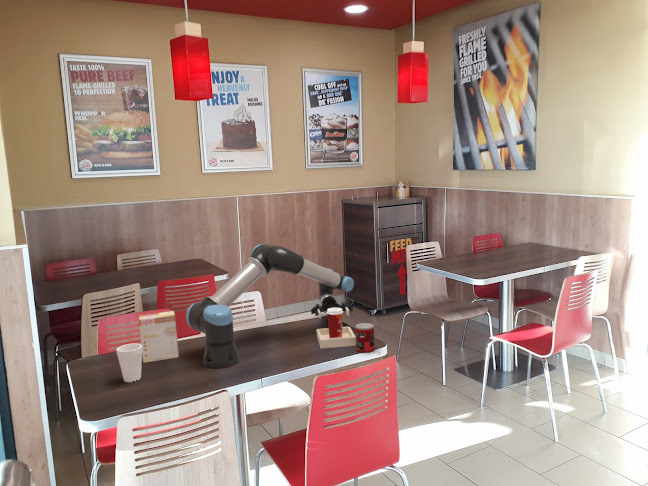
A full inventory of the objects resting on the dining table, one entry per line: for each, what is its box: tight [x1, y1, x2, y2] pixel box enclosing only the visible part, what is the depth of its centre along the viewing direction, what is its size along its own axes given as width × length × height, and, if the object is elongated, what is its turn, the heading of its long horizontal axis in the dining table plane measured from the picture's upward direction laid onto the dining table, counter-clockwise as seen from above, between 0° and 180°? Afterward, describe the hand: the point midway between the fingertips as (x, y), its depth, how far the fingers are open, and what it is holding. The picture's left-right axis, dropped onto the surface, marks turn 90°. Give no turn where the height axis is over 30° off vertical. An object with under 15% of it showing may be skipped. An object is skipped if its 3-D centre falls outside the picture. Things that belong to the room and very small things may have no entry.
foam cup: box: [116, 342, 143, 383], centre depth 208 cm, size 10×9×13 cm
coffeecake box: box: [138, 310, 180, 363], centre depth 230 cm, size 15×7×20 cm, turn 110°
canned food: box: [355, 322, 375, 354], centre depth 230 cm, size 8×8×11 cm
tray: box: [315, 326, 356, 350], centre depth 243 cm, size 16×16×4 cm
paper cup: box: [326, 308, 344, 338], centre depth 242 cm, size 8×8×14 cm
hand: (334, 314), depth 247 cm, fingers open, 13 cm apart
